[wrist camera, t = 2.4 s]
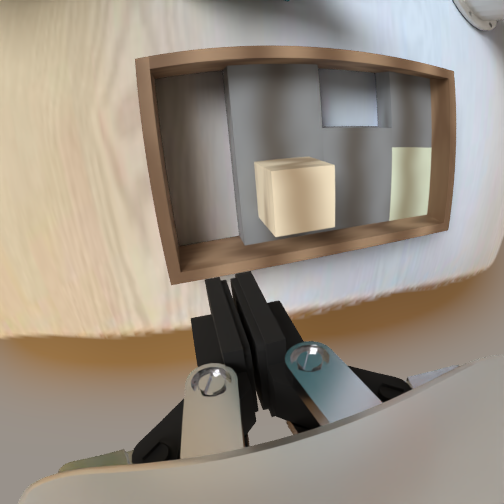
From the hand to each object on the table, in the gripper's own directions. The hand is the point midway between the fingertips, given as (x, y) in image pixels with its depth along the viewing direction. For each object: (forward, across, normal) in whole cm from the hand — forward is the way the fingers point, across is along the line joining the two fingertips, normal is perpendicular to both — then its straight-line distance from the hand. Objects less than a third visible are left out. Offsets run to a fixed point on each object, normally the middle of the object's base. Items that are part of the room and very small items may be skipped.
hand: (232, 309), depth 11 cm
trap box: (+19, -12, -3) cm, 22 cm away
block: (+16, -8, 0) cm, 18 cm away
